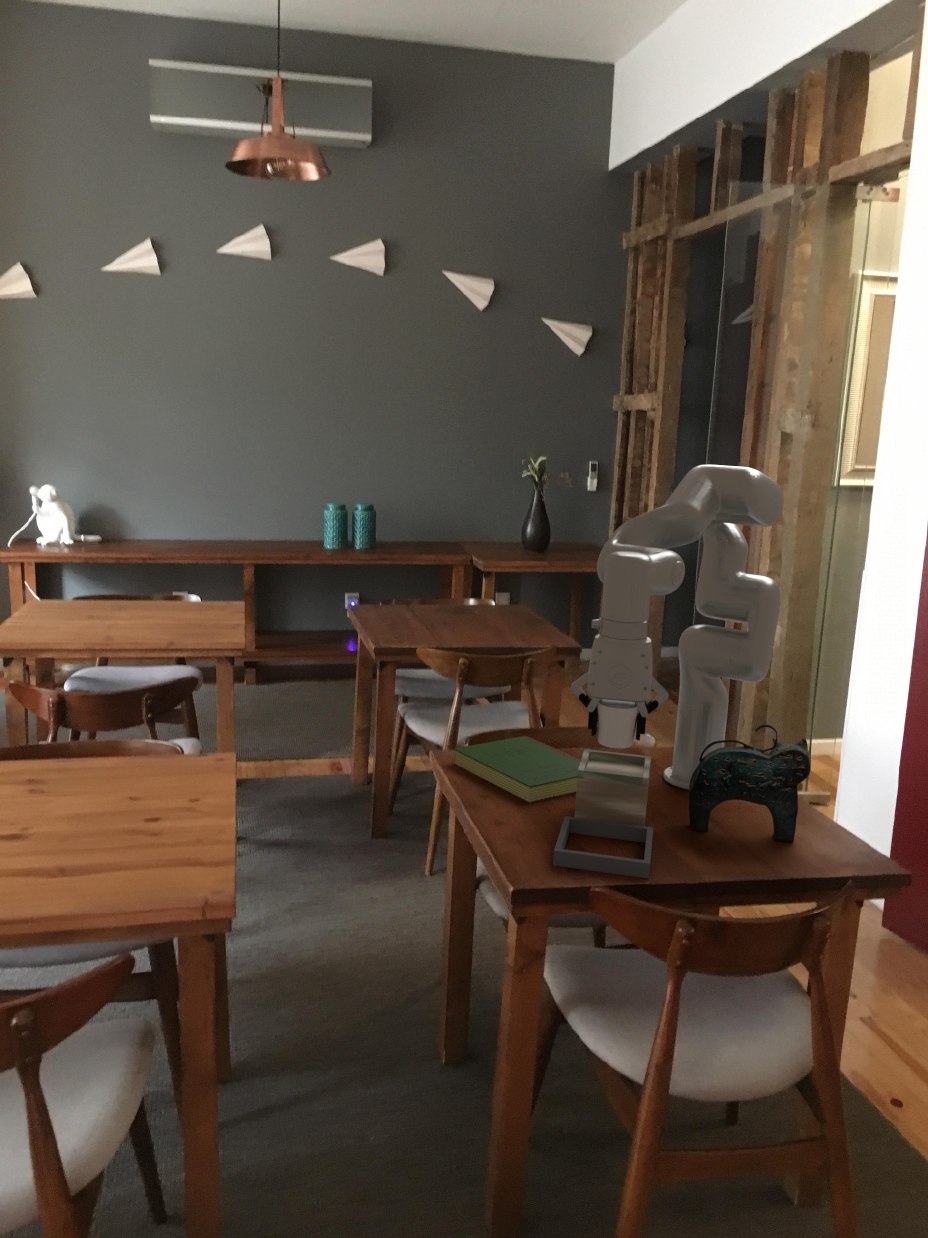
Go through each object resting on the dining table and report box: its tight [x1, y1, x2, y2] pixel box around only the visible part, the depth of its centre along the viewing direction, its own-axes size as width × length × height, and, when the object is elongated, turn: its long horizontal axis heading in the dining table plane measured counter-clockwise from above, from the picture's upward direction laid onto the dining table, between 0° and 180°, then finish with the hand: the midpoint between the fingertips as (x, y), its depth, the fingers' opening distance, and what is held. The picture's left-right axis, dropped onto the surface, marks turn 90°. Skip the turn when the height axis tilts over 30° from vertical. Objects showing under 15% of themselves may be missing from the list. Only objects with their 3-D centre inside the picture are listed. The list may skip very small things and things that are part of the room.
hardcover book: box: [453, 735, 582, 803], centre depth 201 cm, size 25×19×4 cm
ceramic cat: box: [688, 724, 812, 843], centre depth 175 cm, size 20×6×20 cm, turn 78°
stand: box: [573, 748, 652, 826], centre depth 180 cm, size 12×12×10 cm
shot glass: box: [597, 699, 639, 749], centre depth 166 cm, size 7×7×7 cm
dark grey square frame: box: [552, 815, 654, 880], centre depth 166 cm, size 15×15×2 cm
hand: (616, 734), depth 166 cm, fingers closed on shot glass, 6 cm apart
